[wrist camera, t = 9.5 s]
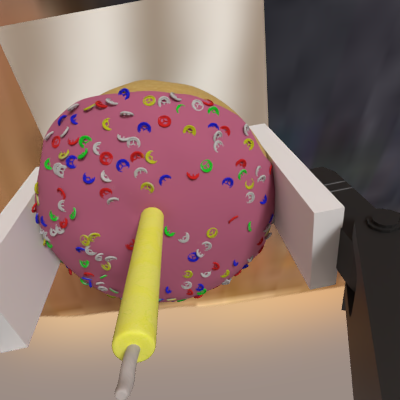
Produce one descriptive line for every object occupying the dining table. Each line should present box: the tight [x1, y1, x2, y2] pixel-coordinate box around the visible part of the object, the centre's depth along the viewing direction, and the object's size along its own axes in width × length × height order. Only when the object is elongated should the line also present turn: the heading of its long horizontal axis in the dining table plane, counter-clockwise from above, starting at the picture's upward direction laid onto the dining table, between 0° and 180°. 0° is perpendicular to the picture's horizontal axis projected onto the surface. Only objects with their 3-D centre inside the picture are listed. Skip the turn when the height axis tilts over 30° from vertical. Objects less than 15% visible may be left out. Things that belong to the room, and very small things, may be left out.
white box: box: [0, 0, 268, 139], centre depth 21 cm, size 13×13×8 cm
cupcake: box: [31, 80, 275, 400], centre depth 10 cm, size 9×8×12 cm
